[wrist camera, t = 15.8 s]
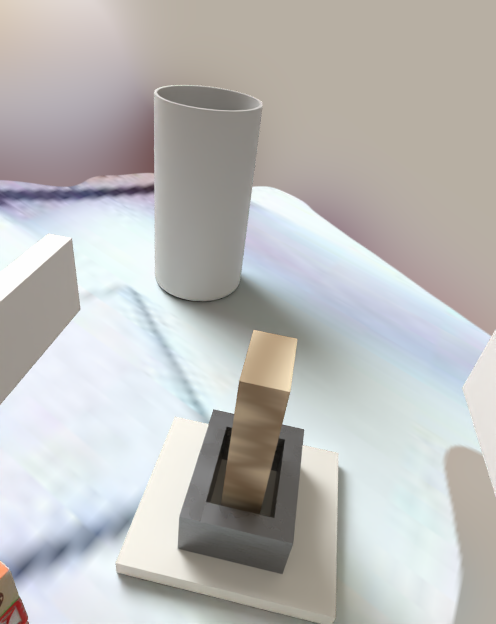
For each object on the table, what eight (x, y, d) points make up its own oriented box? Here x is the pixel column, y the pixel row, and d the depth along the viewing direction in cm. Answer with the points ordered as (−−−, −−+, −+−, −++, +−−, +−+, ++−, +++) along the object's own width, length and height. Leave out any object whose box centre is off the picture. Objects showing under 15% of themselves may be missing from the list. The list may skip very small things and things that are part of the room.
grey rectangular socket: (177, 548, 34) (179, 516, 31) (209, 442, 42) (213, 409, 39) (282, 574, 33) (293, 543, 30) (294, 461, 41) (304, 429, 38)
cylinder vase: (197, 315, 60) (210, 116, 45) (136, 275, 65) (131, 88, 51) (256, 282, 68) (283, 105, 53) (198, 250, 74) (208, 82, 59)
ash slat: (217, 525, 35) (239, 381, 26) (230, 471, 40) (253, 329, 30) (254, 533, 35) (290, 391, 26) (264, 478, 39) (297, 338, 30)
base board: (116, 572, 33) (115, 562, 32) (174, 426, 44) (174, 416, 44) (330, 626, 32) (335, 618, 31) (334, 462, 43) (338, 453, 42)
